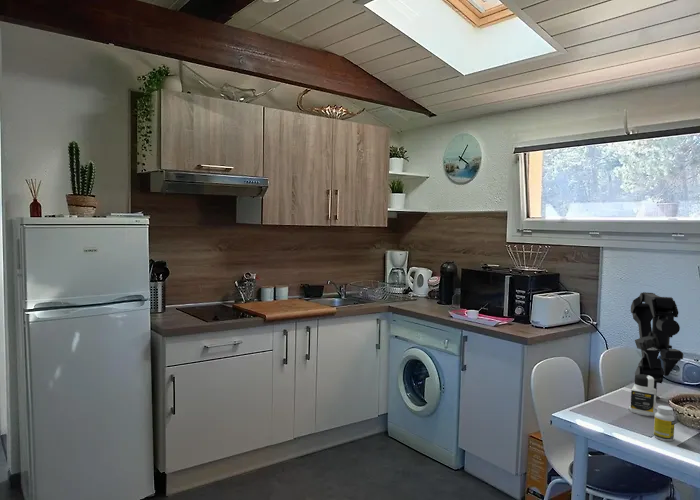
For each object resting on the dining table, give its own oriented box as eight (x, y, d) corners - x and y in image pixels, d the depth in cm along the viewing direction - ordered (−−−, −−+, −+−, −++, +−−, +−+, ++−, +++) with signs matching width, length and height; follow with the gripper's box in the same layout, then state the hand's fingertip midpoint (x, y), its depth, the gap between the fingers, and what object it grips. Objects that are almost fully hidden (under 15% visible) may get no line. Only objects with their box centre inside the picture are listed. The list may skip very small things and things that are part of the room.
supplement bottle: (673, 443, 155) (675, 411, 155) (653, 439, 158) (654, 408, 158) (673, 437, 160) (675, 406, 159) (653, 433, 163) (655, 403, 162)
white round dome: (623, 406, 187) (623, 403, 187) (648, 407, 187) (648, 404, 187) (636, 415, 178) (636, 412, 178) (662, 416, 178) (662, 413, 178)
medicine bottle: (630, 408, 182) (631, 375, 181) (633, 403, 188) (634, 371, 187) (653, 413, 178) (654, 379, 177) (655, 408, 183) (657, 375, 183)
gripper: (626, 325, 197) (624, 364, 198) (653, 335, 178) (650, 378, 179) (655, 326, 197) (653, 365, 197) (685, 336, 178) (683, 379, 179)
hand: (658, 372), depth 188 cm, fingers open, 9 cm apart
